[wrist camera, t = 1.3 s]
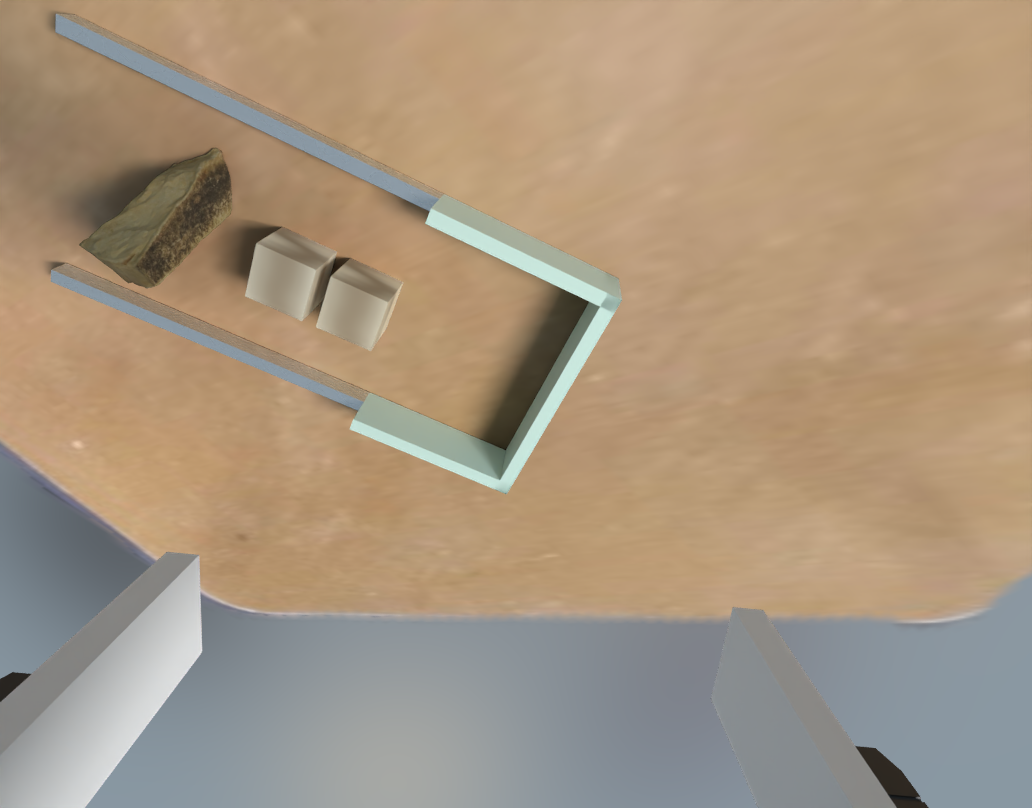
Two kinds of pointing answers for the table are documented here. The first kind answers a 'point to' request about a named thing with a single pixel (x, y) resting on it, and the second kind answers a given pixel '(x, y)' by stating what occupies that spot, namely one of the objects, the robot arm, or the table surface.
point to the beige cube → (358, 303)
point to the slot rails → (269, 124)
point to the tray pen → (505, 465)
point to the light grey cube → (290, 273)
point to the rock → (165, 221)
